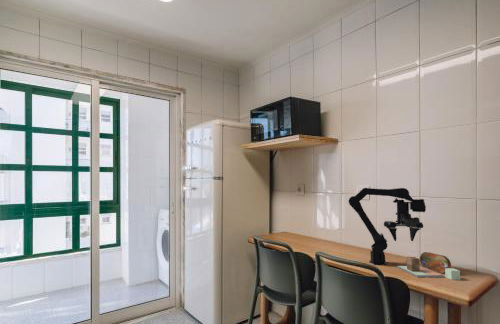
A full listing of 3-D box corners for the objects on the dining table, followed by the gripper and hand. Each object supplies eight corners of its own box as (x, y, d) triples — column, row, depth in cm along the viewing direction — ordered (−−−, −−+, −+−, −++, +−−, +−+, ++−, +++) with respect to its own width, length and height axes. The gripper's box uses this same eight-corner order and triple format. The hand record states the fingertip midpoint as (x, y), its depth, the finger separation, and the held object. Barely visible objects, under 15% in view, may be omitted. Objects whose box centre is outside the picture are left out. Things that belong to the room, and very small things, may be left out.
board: (417, 277, 133) (417, 275, 133) (397, 267, 150) (397, 265, 150) (444, 277, 134) (444, 275, 134) (421, 267, 151) (421, 265, 151)
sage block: (451, 279, 131) (451, 270, 131) (445, 277, 135) (445, 268, 135) (460, 279, 131) (459, 270, 131) (453, 277, 135) (453, 268, 135)
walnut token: (411, 271, 140) (411, 258, 140) (407, 269, 144) (406, 256, 144) (419, 271, 140) (419, 258, 140) (414, 269, 144) (414, 256, 144)
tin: (419, 266, 152) (419, 250, 152) (424, 266, 153) (423, 250, 153) (448, 275, 137) (447, 257, 138) (452, 274, 139) (452, 256, 139)
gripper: (394, 212, 146) (395, 243, 145) (429, 213, 147) (430, 244, 146) (383, 210, 157) (383, 239, 156) (416, 211, 158) (417, 239, 157)
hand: (403, 240), depth 153 cm, fingers open, 9 cm apart
